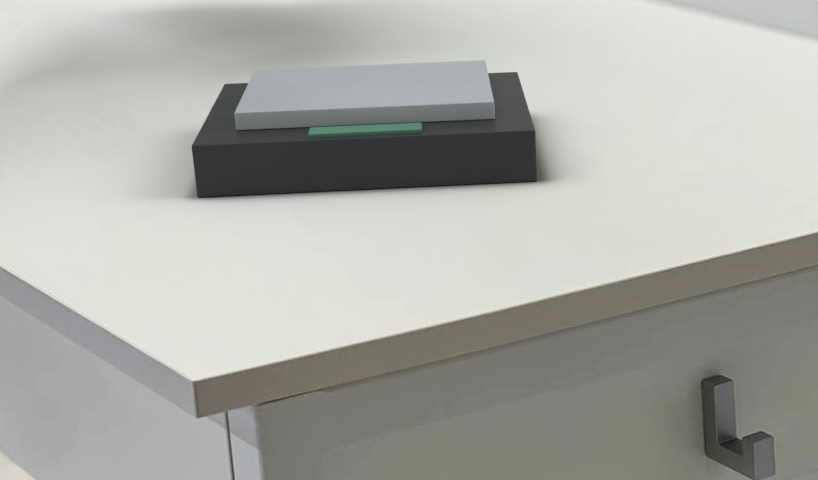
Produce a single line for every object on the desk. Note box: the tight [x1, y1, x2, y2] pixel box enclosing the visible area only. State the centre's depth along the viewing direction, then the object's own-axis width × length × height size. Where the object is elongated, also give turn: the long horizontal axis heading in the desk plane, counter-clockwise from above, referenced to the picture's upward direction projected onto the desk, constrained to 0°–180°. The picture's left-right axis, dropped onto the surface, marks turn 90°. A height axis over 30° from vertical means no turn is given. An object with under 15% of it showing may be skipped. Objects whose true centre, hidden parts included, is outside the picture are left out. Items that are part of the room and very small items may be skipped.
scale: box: [191, 59, 538, 198], centre depth 93 cm, size 18×16×4 cm
